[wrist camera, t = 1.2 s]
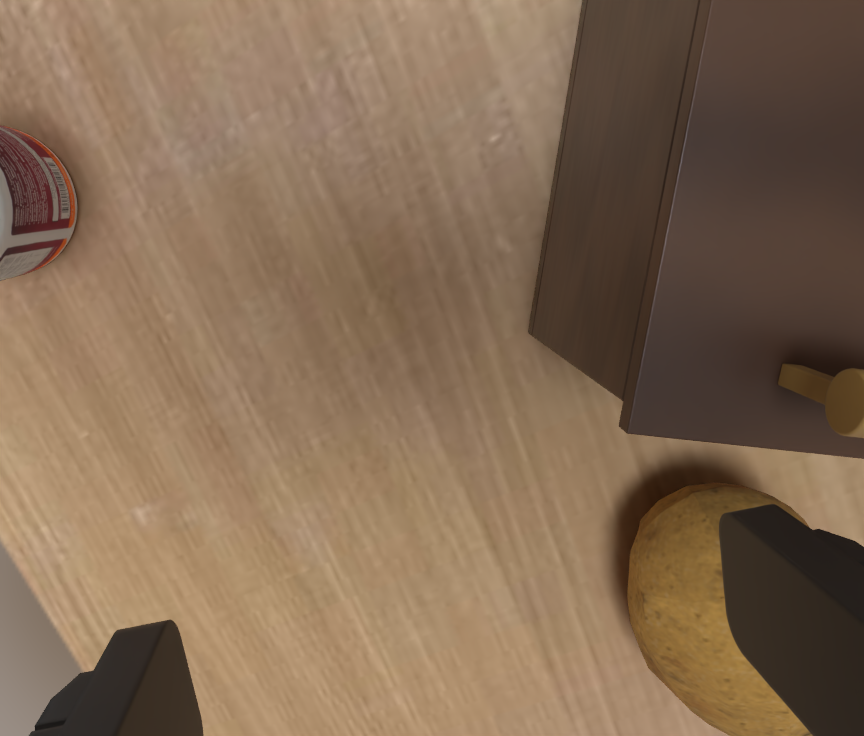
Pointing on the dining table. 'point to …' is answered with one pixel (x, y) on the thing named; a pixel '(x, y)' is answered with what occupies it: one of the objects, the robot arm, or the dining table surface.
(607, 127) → the chest
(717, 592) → the potato
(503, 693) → the dining table surface
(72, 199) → the pill bottle
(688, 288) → the lid
